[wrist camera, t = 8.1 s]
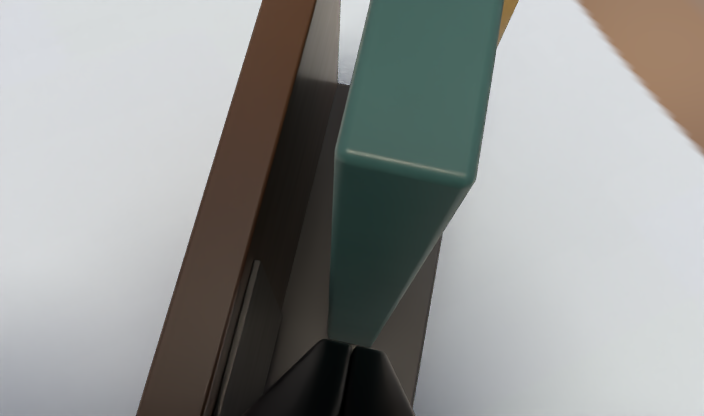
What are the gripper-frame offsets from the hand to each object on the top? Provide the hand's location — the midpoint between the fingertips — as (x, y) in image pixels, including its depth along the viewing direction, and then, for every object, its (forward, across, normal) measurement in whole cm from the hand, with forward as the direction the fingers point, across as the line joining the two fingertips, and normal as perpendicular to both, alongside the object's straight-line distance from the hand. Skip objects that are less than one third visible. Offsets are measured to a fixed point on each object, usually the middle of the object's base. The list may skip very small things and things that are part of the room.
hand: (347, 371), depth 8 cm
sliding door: (+7, 0, +1) cm, 7 cm away
